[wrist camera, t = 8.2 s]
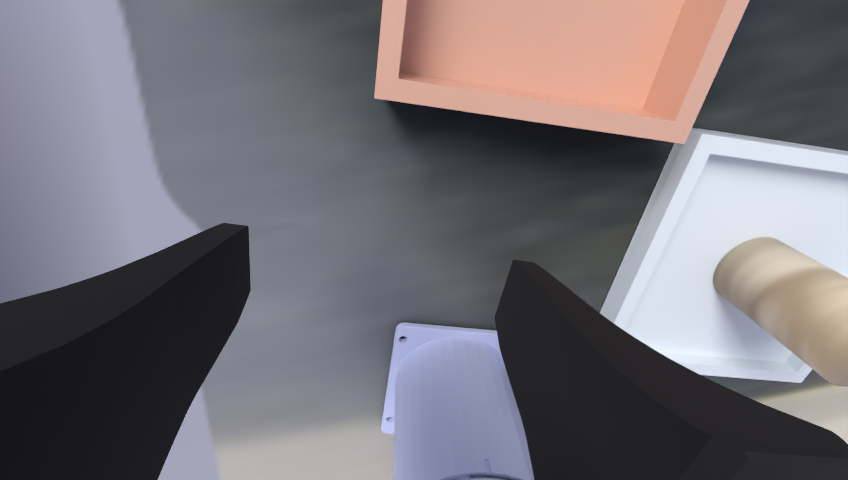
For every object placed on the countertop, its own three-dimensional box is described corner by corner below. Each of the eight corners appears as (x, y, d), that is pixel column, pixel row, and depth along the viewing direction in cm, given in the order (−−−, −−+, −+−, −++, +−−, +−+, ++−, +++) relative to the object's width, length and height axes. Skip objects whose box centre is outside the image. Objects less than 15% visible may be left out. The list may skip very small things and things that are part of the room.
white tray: (781, 365, 27) (801, 382, 26) (584, 348, 26) (593, 366, 24) (934, 164, 21) (970, 174, 19) (681, 125, 19) (702, 133, 18)
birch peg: (765, 300, 24) (884, 387, 18) (702, 297, 23) (803, 385, 17) (801, 239, 22) (947, 314, 16) (733, 234, 21) (858, 310, 16)
